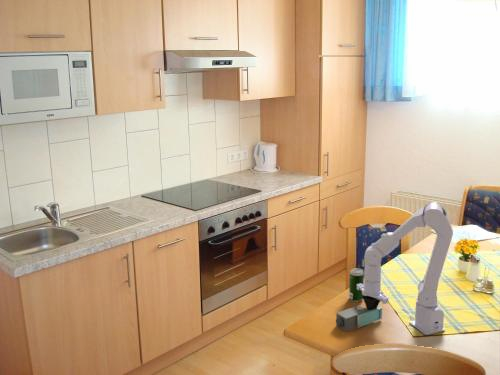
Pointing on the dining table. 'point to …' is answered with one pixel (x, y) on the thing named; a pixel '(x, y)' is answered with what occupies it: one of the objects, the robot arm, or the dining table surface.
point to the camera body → (349, 317)
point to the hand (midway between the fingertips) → (371, 314)
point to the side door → (369, 317)
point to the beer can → (355, 284)
